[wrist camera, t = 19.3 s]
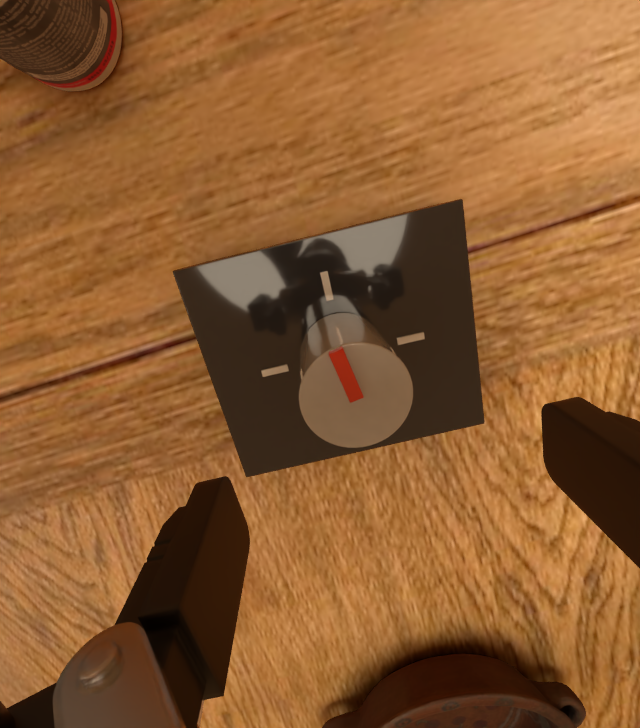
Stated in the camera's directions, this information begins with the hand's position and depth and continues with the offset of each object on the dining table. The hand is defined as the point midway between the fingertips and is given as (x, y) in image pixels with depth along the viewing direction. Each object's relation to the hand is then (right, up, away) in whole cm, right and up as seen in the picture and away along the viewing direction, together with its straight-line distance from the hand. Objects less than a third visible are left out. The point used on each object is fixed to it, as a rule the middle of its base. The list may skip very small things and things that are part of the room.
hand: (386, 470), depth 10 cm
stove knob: (-1, +3, +10) cm, 10 cm away
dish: (+9, -27, +24) cm, 38 cm away
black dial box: (-1, +4, +13) cm, 14 cm away
